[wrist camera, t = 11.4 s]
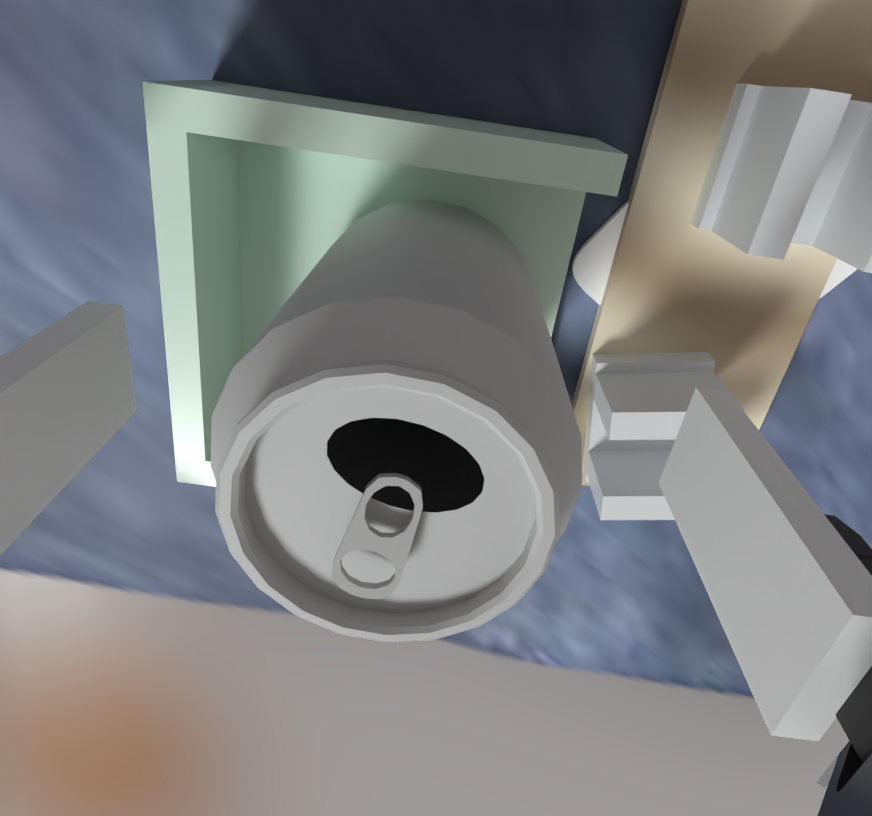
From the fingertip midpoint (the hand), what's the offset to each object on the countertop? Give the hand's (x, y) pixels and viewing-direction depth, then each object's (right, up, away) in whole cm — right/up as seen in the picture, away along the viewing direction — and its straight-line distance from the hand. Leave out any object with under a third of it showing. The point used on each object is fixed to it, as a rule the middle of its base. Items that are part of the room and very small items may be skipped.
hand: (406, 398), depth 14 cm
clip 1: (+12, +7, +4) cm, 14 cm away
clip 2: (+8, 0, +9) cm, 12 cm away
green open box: (-1, +4, +8) cm, 8 cm away
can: (0, +3, +7) cm, 8 cm away
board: (+10, +4, +7) cm, 13 cm away
